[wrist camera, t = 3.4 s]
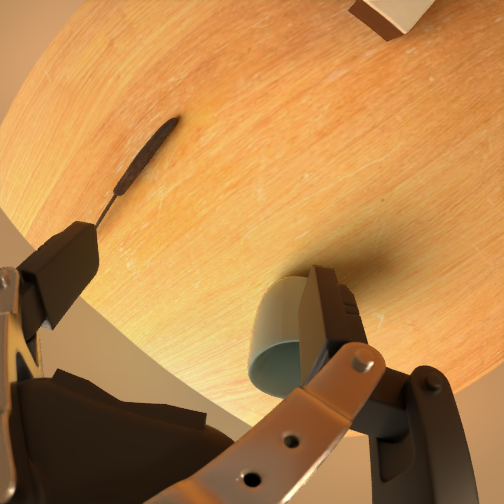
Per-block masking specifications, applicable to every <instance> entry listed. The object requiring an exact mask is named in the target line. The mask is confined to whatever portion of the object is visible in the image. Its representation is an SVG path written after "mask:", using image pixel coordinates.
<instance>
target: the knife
mask: <svg viewBox="0 0 504 504" xmlns="http://www.w3.org/2000/svg"><path fill="white" fill-rule="evenodd" d="M176 124H177V119H176V118H172V119H170V120H168V121H167V122H166V123H165V124H163V125H162V126H161V127H160V128H159V130H158V131H157V132H156V133H155V134H154V135H153V136H152V137H151V139H150V140H149V141H148V142H147V143H146V145H145V146H144V147H143V148H142V149H141V151H140V152H139V153H138V155H137V156H136V157H135V159H134V160H133V162H132V163H131V164H130V166H129V167H128V169H127V171H126V172H125V174H124V175H123V176H122V178H121V179H120V181H119V182H118V184H117V185H116V187H115V188H114V190H113V192H114V196H113V197H112V199H111V200H110V202H109V203H108V205H107V206H106V208H105V210H104V211H103V213H102V214H101V216H100V218H99V220H98V221H97V223H96V225H95V227H96V229H97V227H98V226H99V224H100V222H101V221H102V219H103V218H104V216H105V214H106V213H107V211H108V210H109V208H110V207H111V205H112V203H113V202H114V200H115V199H116V197H117V196H121V195H123V194H124V193H125V192H126V191H127V189H128V188H129V187H130V185H131V184H132V183H133V181H134V180H135V178H136V177H137V176H138V175H139V173H140V172H141V171H142V170H143V168H144V167H145V166H146V164H147V163H148V162H149V160H150V159H151V158H152V156H153V155H154V154H155V152H156V151H157V149H158V148H159V147H160V145H161V144H162V143H163V141H164V140H165V139H166V138H167V136H168V135H169V134H170V132H171V131H172V130H173V128H174V127H175V125H176Z"/></svg>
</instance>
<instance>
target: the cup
mask: <svg viewBox="0 0 504 504" xmlns="http://www.w3.org/2000/svg"><path fill="white" fill-rule="evenodd" d="M306 281H307V278H306V277H302V276H288V277H284V278H282V279H280V280H278V281H277V282H275V283H273V284H272V285H271V286H270V287H269V288H268V290H267V291H266V292H265V294H264V295H263V297H262V299H261V301H260V303H259V305H258V308H257V311H256V315H255V319H254V324H253V329H252V335H251V342H250V349H249V357H248V376H249V378H250V381H251V382H252V383H253V384H254V386H255V387H256V388H258V389H259V390H261V391H262V392H264V393H266V394H269V395H271V396H274V397H278V398H282V399H285V398H286V397H287V396H288V395H289V394H290V393H291V392H292V391H293V390H294V389H296V388H297V387H298V386H301V367H300V345H299V326H298V310H299V304H300V300H301V297H302V294H303V291H304V288H305V285H306Z"/></svg>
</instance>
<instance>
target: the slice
mask: <svg viewBox="0 0 504 504" xmlns="http://www.w3.org/2000/svg"><path fill="white" fill-rule="evenodd" d="M434 1H435V0H357V1H356V2H355V3H354V5H353V6H352V7H351V8H350V9H349V10H348V11H349V12H350V13H352V14H353V15H354V16H356V17H357V18H358V19H360V20H361V21H362V22H364V23H365V24H366V25H367V26H369V27H370V28H371V29H372V30H374V31H375V32H376V33H377V34H379V35H380V36H381V37H382V38H383V39H385V40H386V41H389V40H392V39H394V38H396V37H399V36H401V35H404V34H406V33H408V32H409V31H410V29H411V28H412V27H413V26H414V25H415V23H416V22H417V21H418V20H419V19H420V18H421V16H422V15H423V14H424V13H425V12H426V11H427V9H428V8H429V7H430V6H431V5H432V4H433V3H434Z"/></svg>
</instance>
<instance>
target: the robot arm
mask: <svg viewBox="0 0 504 504" xmlns="http://www.w3.org/2000/svg"><path fill="white" fill-rule="evenodd" d="M98 268H99V253H98V243H97V231H96V227H95V225H94V224H91V223H86V222H80V221H75V222H74V223H72V224H71V225H70V226H69V227H67V228H66V229H65V230H64V231H63V232H61V233H58V234H56V235H54V236H52V237H51V238H50V239H49V240H47V241H46V242H45V243H44V245H42V246H40V247H39V248H38V250H37V251H35V252H33V253H32V254H31V255H30V256H29V257H28V258H27V259H26V260H25V261H23V262H22V263H21V264H20V265H19V266H18V267H17V268H16V269H15V268H13V267H3V268H0V504H286V503H287V502H288V501H289V500H290V499H291V498H292V497H293V496H294V495H295V494H296V493H297V492H298V491H299V490H300V489H301V487H302V486H303V485H304V484H305V483H306V482H307V481H308V480H309V478H310V477H311V476H312V475H313V474H314V473H315V472H316V470H317V469H318V468H319V467H320V465H321V464H322V463H323V462H324V461H325V459H326V458H327V457H328V456H329V454H330V453H331V452H332V451H333V449H334V448H335V447H336V446H337V444H338V443H339V442H340V440H341V439H342V438H343V436H344V435H345V434H346V432H347V431H348V430H349V429H351V430H354V431H357V432H360V433H363V434H367V435H368V436H369V448H370V461H371V478H372V504H479V498H478V492H477V487H476V481H475V476H474V471H473V466H472V462H471V457H470V453H469V449H468V445H467V441H466V437H465V433H464V429H463V426H462V422H461V419H460V415H459V412H458V408H457V405H456V402H455V399H454V396H453V393H452V390H451V387H450V384H449V381H448V380H447V378H446V377H445V376H444V374H443V373H441V372H440V371H439V370H437V369H436V368H433V367H431V366H419V367H417V368H415V369H414V371H413V372H412V373H411V375H408V374H405V373H402V372H399V371H396V370H393V369H390V368H388V367H386V364H385V360H384V358H383V357H382V355H381V354H380V353H379V352H378V351H377V350H376V349H375V348H373V347H372V346H370V345H368V342H367V338H366V334H365V331H364V327H363V324H362V320H361V317H360V316H359V314H360V313H359V310H358V307H357V303H356V300H355V297H354V294H353V293H352V292H351V291H350V290H349V288H348V287H347V286H346V285H344V284H338V281H337V277H336V273H335V270H334V269H333V268H329V267H323V266H318V265H312V267H311V269H310V272H309V275H308V278H307V281H306V285H305V288H304V291H303V294H302V297H301V300H300V304H299V310H298V326H299V345H300V367H301V386H298V387H297V388H296V389H294V390H293V391H292V392H291V393H290V394H289V395H288V396H287V397H286V398H285V399H284V400H283V401H282V402H281V403H279V404H278V405H277V406H276V407H275V408H274V409H273V410H272V411H271V412H270V413H269V414H267V415H266V416H265V417H264V418H263V419H262V420H261V421H260V422H258V423H257V424H256V425H255V426H254V427H253V428H252V429H250V430H249V431H248V432H247V433H246V434H244V435H243V436H242V437H241V438H240V439H239V440H237V441H236V442H234V441H233V440H232V439H231V438H229V437H228V436H226V435H225V434H224V433H222V432H220V431H219V430H217V429H215V428H213V427H211V426H209V425H206V416H207V413H203V412H198V411H193V410H188V409H184V408H179V407H175V406H171V405H167V404H151V403H133V402H123V401H120V400H118V399H117V398H115V397H113V396H112V395H110V394H108V393H107V392H105V391H104V390H102V389H101V388H99V387H98V386H96V385H95V384H93V383H92V382H90V381H89V380H86V379H83V378H81V377H78V376H75V375H73V374H70V373H68V372H65V371H63V370H60V369H57V370H56V372H55V374H54V375H53V377H52V378H45V377H44V373H43V364H42V356H41V345H40V335H39V332H38V329H39V328H40V326H42V327H44V328H47V329H49V330H53V329H54V328H55V327H56V325H57V324H58V323H59V321H60V320H61V319H62V317H63V316H64V315H65V313H66V312H67V311H68V309H69V308H70V307H71V305H72V304H73V303H74V301H75V300H76V299H77V298H78V296H79V295H80V294H81V293H82V291H83V290H84V289H85V287H86V286H87V285H88V284H89V283H90V281H91V280H92V279H93V278H94V276H95V275H96V273H97V271H98Z"/></svg>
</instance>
